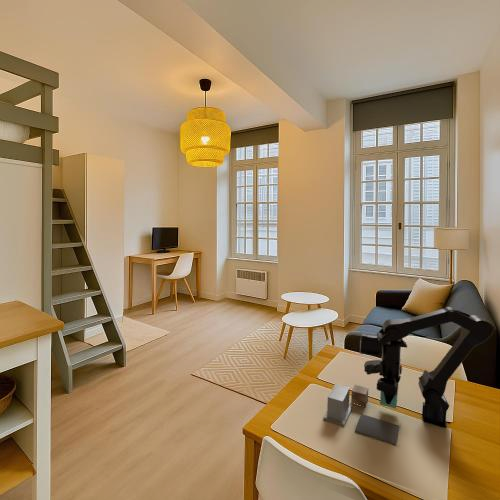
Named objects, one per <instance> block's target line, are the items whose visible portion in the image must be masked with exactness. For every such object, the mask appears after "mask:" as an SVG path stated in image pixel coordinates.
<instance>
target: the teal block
mask: <svg viewBox="0 0 500 500" xmlns="http://www.w3.org/2000/svg"><path fill="white" fill-rule="evenodd" d="M398 395H399V393H397V394H396V395H395V396H394V398H393V399H392V401H391V403H390V404H387V403H386V400H385V396H384V392H383V391H380V396H379V397H380V399H379V400H380V401H379V402H380V403H379V405H381V406H385V407H389V408H391V409H397V405H398Z"/></svg>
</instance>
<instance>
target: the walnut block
mask: <svg viewBox="0 0 500 500" xmlns="http://www.w3.org/2000/svg"><path fill="white" fill-rule="evenodd" d="M350 399H351V400H350V404H351V403H355V404H358V405H361V406H360V407H362V406H364V407H363V408H366V407H367V405H366V404H368V401H369V388H368V387H366V386H362V385H359V384H358V385H357V384H354V385H353V387H352V390H351V397H350ZM355 404H354V405H355ZM358 405H357V406H358Z"/></svg>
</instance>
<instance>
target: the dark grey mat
mask: <svg viewBox="0 0 500 500" xmlns="http://www.w3.org/2000/svg"><path fill="white" fill-rule="evenodd" d="M399 429H400V424H396V423H393V422H390V421H386V420H383V419H379V418H376V417H373V416H370V415H366V414H364V413H360V416H359V418H358V421H357V424H356V426H355V429H354V433H357V434H360V435H363V436H366V437H369V438H372V439H374V440H375V439H376V440H378V441H381V442H384V443H387V444H390V445H393V446H397V442H398V436H399Z"/></svg>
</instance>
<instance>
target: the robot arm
mask: <svg viewBox="0 0 500 500" xmlns="http://www.w3.org/2000/svg"><path fill="white" fill-rule="evenodd" d="M448 323H454V324H455V325H457V326H460V327H461V329H460V334H459V337H458V338H457V339H456V341H454V343H453V345H452V346H451V348H450V349H449V350H448V351H447V353H446V354H445V356H444V357H442V359H441V360H440V361H439V363H438V364H437V366H436V367H435V368H434V369H433V370H432V371H428V370H427V369H425V370H424V371H423V373H422V374H421V376H419V377H418V384H417V385H418V388H419V390H420V393H421V395H422V397H423V399H424V401H423V402H422V410H421V411H422V413H421V417H422V419H423V423H425V424H429V425H432V426H436V427H440V428H443V429H446V428H447V412H448V410H449V408H450V403H449V402H448V400H447V399H446V397H445V395H444V394H445V392H446V388H447V385H448V384H447V383H448V381H449V380H450V378H451V377H452V376H453V375H454V373H455V372H456V370H457V369H458V368H459V367H460V366H461V364H462V363H463V362H464V360H465V359H466V358H467V357H468V355H469V354H470V353H471V351H472V350H473V349H474V348H475V347H477V346H478V345H481V344H483V343H485V342H486V341H487V340H489V339H490V337H492V335H493V334H494V328H493V325H492V324H491V323H489V322H488V321H487V320H486V319H485V318H483V317H482V316H481V315H478V314H473V315H471V314H469V313H466V312H464V311H461V310H458V309H455V308H454V307H452V306H446V307H444V308H441V309H437V310H434V311H431V312H427V313H423V314H421V315H416V316H413V317H412V316H411V317H409V318H401V317H400V318H391V319H387V320H385V321H383V324H382V328H380V330H379V331H377V333H376V335H369V334H365V333H360V335H361V336H360V341H359V354H360V355H368V356H376V357H377V356H379V355H380V354H381V352H382V354H381V359H372V360H366V361H365V362H364V365H363V367H364V372H365V374H366V375H367V376H368V375H372V374H374V375H375V374H379V376H381V377H380V378H378V380H377V383H376V390H377V391H378V392H381V391H383V392H384V396H385V400H386V403H387V404H390V403H391V401H392V399H393V398H394V396H395V395H396V394H397V393H398V392H399V391H398V390H399V382H400V381H401V378H402V376H401V375H402V373H403V366H402V365H401V361H402V360H401V348H406V349H407V348H408V344H407V342H406V341H405V340H404V339H405V338H406V337H407V336H409V335H411V334H412V333H415V332H417V331H422V330H425V329H429V328H432V327H436V326H437V327H438V326H440V325H444V324H448ZM381 350H382V351H381ZM398 394H399V393H398Z"/></svg>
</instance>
